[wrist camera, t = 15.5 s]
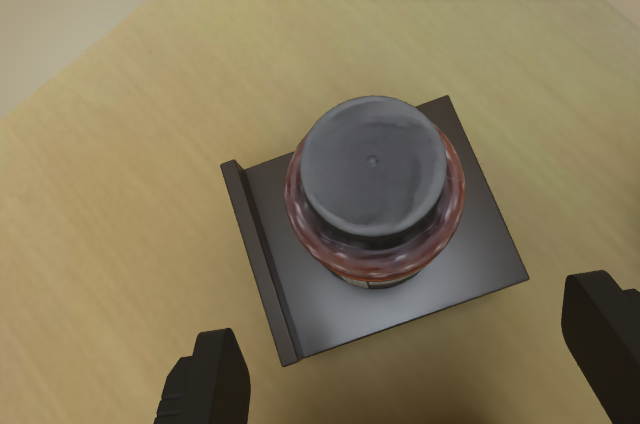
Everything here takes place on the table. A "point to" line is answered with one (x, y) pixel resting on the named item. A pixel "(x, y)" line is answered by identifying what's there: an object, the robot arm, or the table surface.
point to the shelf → (352, 301)
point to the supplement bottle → (374, 191)
